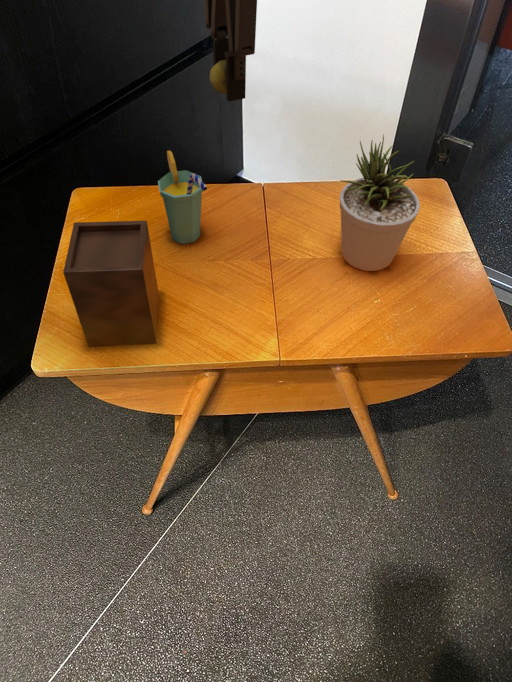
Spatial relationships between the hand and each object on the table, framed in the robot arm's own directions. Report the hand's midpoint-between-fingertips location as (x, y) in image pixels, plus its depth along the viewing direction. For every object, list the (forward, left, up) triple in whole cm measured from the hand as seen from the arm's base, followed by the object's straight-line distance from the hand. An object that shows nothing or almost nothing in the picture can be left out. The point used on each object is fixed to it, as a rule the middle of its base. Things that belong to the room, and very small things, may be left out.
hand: (229, 91), depth 82 cm
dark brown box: (-25, -16, -24) cm, 38 cm away
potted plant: (+18, -18, -24) cm, 35 cm away
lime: (0, 0, -1) cm, 1 cm away
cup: (-9, -1, -24) cm, 26 cm away
